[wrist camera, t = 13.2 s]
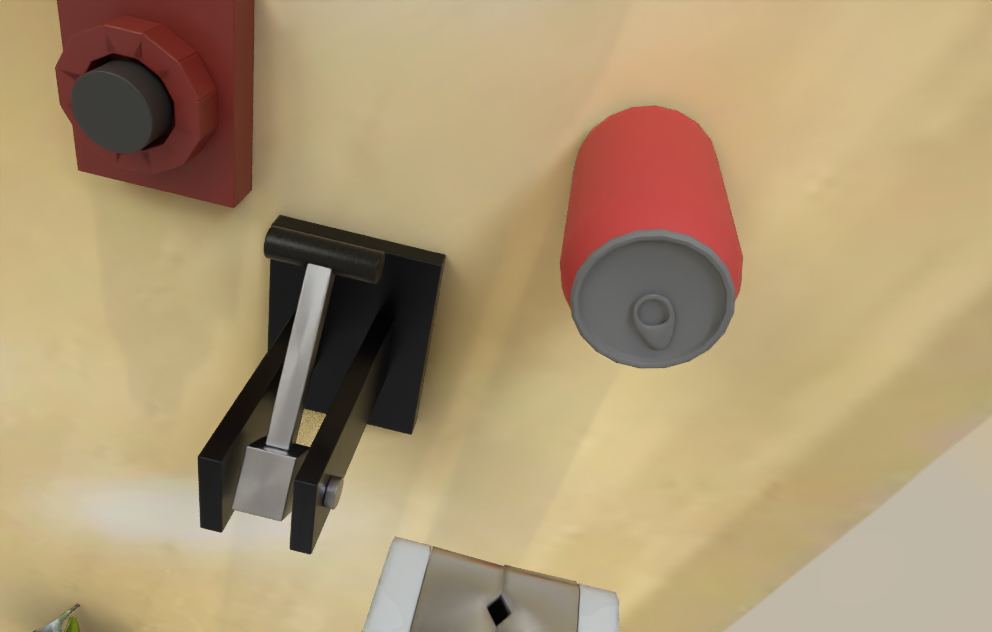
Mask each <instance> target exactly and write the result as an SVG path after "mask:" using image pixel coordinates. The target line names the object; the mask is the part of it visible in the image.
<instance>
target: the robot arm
mask: <svg viewBox="0 0 992 632" xmlns="http://www.w3.org/2000/svg"><path fill="white" fill-rule="evenodd" d="M431 548H432V551H431ZM430 553H431V555H430ZM429 557H430V558H429ZM428 561H429V562H428ZM362 632H619V600H618V597H617V595H616V593H615V592H612V591H608V590H604V589H600V588H596V587H591V586H587V585H583V584H577V582H576V581H571V580H567V579H563V578H559V577H554V576H550V575H546V574H542V573H538V572H533V571H529V570H525V569H521V568H516V567H512V566H508V565H504V566H501V565H498V564H494V563H491V562H487V561H484V560H480V559H476V558H473V557H469V556H466V555H462V554H459V553H455V552H451V551H448V550H444V549H441V548H437V547H434V546H433V547H432V546H430V545H426V544H423V543H419V542H415V541H411V540H407V539H403V538H399V537H396V536H395V538H394V540H393V541H392V543H391V545H390V547H389V551H388V554H387V557H386V560H385V563H384V566H383V569H382V572H381V575H380V579H379V582H378V585H377V588H376V591H375V594H374V597H373V600H372V603H371V606H370V610H369V613H368V616H367V619H366V622H365V625H364V628H363V631H362Z"/></svg>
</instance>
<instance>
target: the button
mask: <svg viewBox="0 0 992 632" xmlns="http://www.w3.org/2000/svg"><path fill="white" fill-rule="evenodd" d="M71 106H72V110H73V114H74V116H75V118H76V121H77V122H78V124H79V126H80V127H81V129H82V130H83V131H84V132H85V134H86V135H87V136H88V137H89V138H90V139H91V140H93V141H94V142H95V143H96V144H98V145H99V146H101V147H103V148H105V149H107V150H109V151H112V152H116V153H124V154H127V153H134V152H137V151H139V150H141V149H142V148H144V147H145V146H147V145H148V144H150V143H151V142H153V141H154V140H156V139H157V138H158V137H160V136H161V135H163V134H164V133H165V132H166V130H167V129H168V127H169V125H170V122H171V117H172V107H171V102H170V98H169V96H168V93H167V91H166V89H165V88H164V86H163V85H162V83H161V82H160V81H159V79H158V78H157V77H156V76H155V75H154V74H153V73H152V72H150V71H149V70H148V69H146V68H145V67H143V66H141V65H139V64H137V63H134V62H131V61H126V60H114V61H110V62H108V63H106V64H104V65H102V66H100V67H98V68H95V69H93V70H91V71H89V72H87V73H85V74H83V75H82V76H80V77H79V78H78V79H77V81H76V82H75V84H74V86H73V89H72V93H71Z"/></svg>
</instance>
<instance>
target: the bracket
mask: <svg viewBox="0 0 992 632" xmlns="http://www.w3.org/2000/svg"><path fill="white" fill-rule="evenodd" d="M272 226H278V227H282V228H286V229H290V230H294V231H299V232H303V233H307V234H311V235H315V236H319V237H323V238H328V239H332V240H336V241H340V242H344V243H348V244H352V245H356V246H361V247H365V248H369V249H373V250H377V251H381V252H384V254H385V262H384V268H383V272H382V275H381V278H380V280H379V282H378V283H377V284H373V283H369V282H364V281H360V280H356V279H352V278H348V277H344V276H340V275H335V279H334V283H333V287H332V292H331V296H330V300H329V304H328V309H327V313H326V317H325V321H324V326H323V330H322V334H321V338H320V342H319V347H318V351H317V355H316V359H315V364H314V368H313V372H312V376H311V380H310V385H309V389H308V393H307V397H306V402H305V406H304V409H308V410H312V411H316V412H320V413H324V414H327V415H326V417H325V419H324V421H323V423H322V425H321V427H320V429H319V431H318V433H317V435H316V437H315V439H314V441H313V443H312V445H311V447H310V449H309V451H308V453H307V455H306V457H305V459H304V461H303V463H302V465H301V467H300V469H299V471H298V473H297V475H296V477H295V479H294V485H293V501H292V517H291V533H290V549H291V550H294V551H298V552H302V553H306V554H311V553H312V551H313V549H314V547H315V544H316V542H317V540H318V537H319V535H320V533H321V530H322V528H323V526H324V523H325V521H326V519H327V516H328V514H329V511H330V509H335V508H336V506H337V504H338V502H339V499H340V496H341V492H342V488H343V482H344V480H343V479H344V476H345V474H346V472H347V469H348V467H349V464H350V462H351V460H352V457H353V455H354V453H355V450H356V448H357V446H358V443H359V441H360V439H361V436H362V434H363V432H364V429H365V427H366V425H367V424H369V425H374V426H378V427H382V428H386V429H390V430H394V431H398V432H402V433H406V434H410V435H411V434H412V433H413V430H414V427H415V424H416V420H417V415H418V409H419V404H420V398H421V392H422V387H423V381H424V376H425V370H426V365H427V359H428V353H429V348H430V342H431V337H432V331H433V326H434V320H435V314H436V309H437V303H438V298H439V292H440V287H441V281H442V275H443V270H444V264H445V259H446V255H443V254H439V253H435V252H431V251H427V250H423V249H419V248H414V247H410V246H406V245H402V244H398V243H394V242H390V241H385V240H381V239H377V238H373V237H369V236H365V235H361V234H356V233H352V232H348V231H344V230H340V229H336V228H331V227H327V226H323V225H319V224H315V223H311V222H307V221H302V220H298V219H294V218H290V217H286V216H282V215H280V216H279V217H278V218H277V219H276V220H275V221H274V223H273V224H272ZM272 226H271V227H272ZM306 268H307V267H302V266H298V265H294V264H290V263H286V262H282V261H278V260H273V259H270V291H269V324H268V352H267V354H266V355H265V357H264V358H263V360H262V361H261V363H260V364H259V366H258V367H257V369H256V370H255V372H254V373H253V375H252V376H251V378H250V379H249V381H248V382H247V384H246V385H245V387H244V388H243V390H242V391H241V393H240V394H239V396H238V397H237V399H236V400H235V402H234V403H233V405H232V406H231V408H230V409H229V411H228V412H227V414H226V415H225V417H224V418H223V420H222V421H221V423H220V424H219V426H218V427H217V429H216V430H215V432H214V433H213V435H212V436H211V438H210V439H209V441H208V442H207V444H206V445H205V447H204V448H203V450H202V451H201V453H200V454H199V456H198V477H199V504H200V527H201V528H204V529H208V530H212V531H216V532H222V531H223V530H224V528H225V526H226V524H227V523H228V521H229V519H230V517H231V515H232V514H233V512H234V510H233V509H232V505H233V501H234V497H235V493H236V488H237V484H238V480H239V476H240V471H241V467H242V463H243V459H244V454H245V450H246V446H247V445H249V444H251V443H253V442H255V441H256V440H258V439H260V438H262V437H264V436H266V437H267V433H268V429H269V425H270V421H271V416H272V412H273V408H274V404H275V399H276V395H277V391H278V387H279V382H280V378H281V374H282V370H283V365H284V361H285V357H286V353H287V348H288V344H289V340H290V336H291V332H292V327H293V323H294V319H295V315H296V310H297V306H298V302H299V298H300V293H301V289H302V285H303V281H304V276H305V272H306Z"/></svg>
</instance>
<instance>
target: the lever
mask: <svg viewBox="0 0 992 632" xmlns="http://www.w3.org/2000/svg"><path fill="white" fill-rule="evenodd" d="M264 255H265V257H267V258H269V259H273V260H278V261H282V262H286V263H290V264H294V265H298V266H302V267H307V268H306V272H305V276H304V281H303V285H302V289H301V293H300V298H299V302H298V306H297V310H296V315H295V319H294V323H293V327H292V332H291V336H290V340H289V344H288V348H287V353H286V357H285V361H284V365H283V370H282V374H281V378H280V382H279V387H278V391H277V395H276V399H275V404H274V408H273V412H272V416H271V421H270V425H269V429H268V433H267V437H266V436H264V437H262V438H260V439H258V440H256V441H255V442H253V443H251V444H249V445H247V446H246V450H245V454H244V459H243V463H242V467H241V471H240V476H239V480H238V484H237V488H236V493H235V497H234V501H233V505H232V509H233V510H237V511H241V512H245V513H249V514H253V515H257V516H261V517H265V518H269V519H273V520H277V521H282V520H283V519H284V518H285V517H286V516H287V515H288V514H289V513H291V512H292V501H293V485H294V479H295V477H296V475H297V473H298V471H299V469H300V467H301V465H302V463H303V461H304V459H305V457H306V455H307V453H308V451H309V449H310V447H307V446H303V445H299V444H296V440H297V435H298V431H299V427H300V423H301V418H302V414H303V410H304V406H305V402H306V397H307V393H308V389H309V385H310V380H311V376H312V372H313V368H314V364H315V359H316V355H317V351H318V347H319V342H320V338H321V334H322V330H323V326H324V321H325V317H326V313H327V309H328V304H329V300H330V296H331V292H332V287H333V283H334V279H335V275H340V276H344V277H348V278H352V279H356V280H360V281H364V282H369V283H373V284H377V283H378V282H379V280H380V278H381V275H382V272H383V268H384V262H385V254H384V252H381V251H377V250H373V249H369V248H365V247H361V246H356V245H352V244H348V243H344V242H340V241H336V240H332V239H328V238H323V237H319V236H315V235H311V234H307V233H303V232H299V231H294V230H290V229H286V228H282V227H278V226H272V227H271V228H270V229H269V231H268V233H267V235H266V238H265V242H264Z"/></svg>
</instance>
